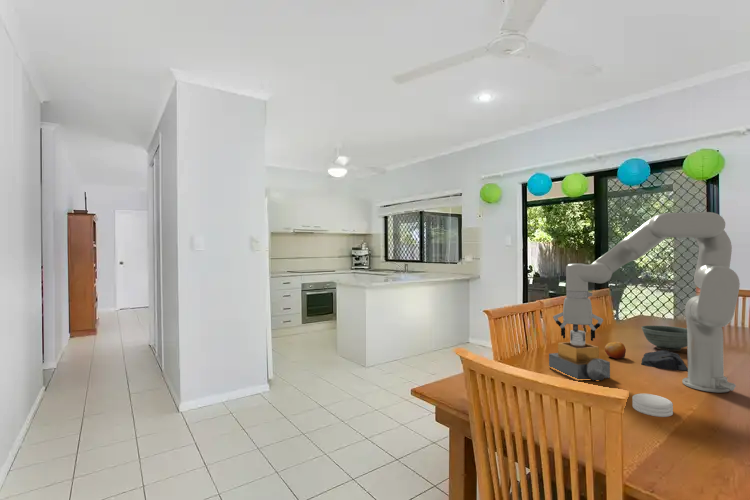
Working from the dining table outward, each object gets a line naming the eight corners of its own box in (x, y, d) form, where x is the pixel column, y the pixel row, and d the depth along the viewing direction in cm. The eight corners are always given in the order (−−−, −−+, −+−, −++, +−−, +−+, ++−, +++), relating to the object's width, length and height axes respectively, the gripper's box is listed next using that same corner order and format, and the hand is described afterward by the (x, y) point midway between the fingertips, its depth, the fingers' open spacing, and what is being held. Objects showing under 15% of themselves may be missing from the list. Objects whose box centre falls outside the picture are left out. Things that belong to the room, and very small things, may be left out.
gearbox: (614, 379, 143) (614, 349, 143) (581, 383, 140) (581, 352, 140) (578, 365, 161) (578, 339, 161) (549, 368, 158) (548, 341, 158)
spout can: (588, 358, 149) (588, 326, 149) (576, 359, 148) (576, 327, 148) (578, 354, 154) (578, 323, 154) (567, 355, 153) (567, 324, 153)
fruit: (634, 356, 168) (624, 340, 168) (618, 366, 168) (609, 350, 168) (623, 351, 176) (613, 336, 176) (608, 360, 176) (598, 345, 176)
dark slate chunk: (685, 360, 168) (685, 349, 168) (688, 373, 150) (687, 361, 150) (642, 355, 177) (642, 344, 177) (640, 367, 160) (640, 355, 160)
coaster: (634, 401, 123) (634, 390, 123) (673, 409, 117) (673, 397, 117) (630, 412, 116) (630, 400, 116) (672, 421, 109) (672, 408, 109)
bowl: (651, 353, 177) (651, 331, 177) (635, 342, 197) (635, 323, 197) (706, 356, 171) (705, 333, 171) (683, 345, 191) (683, 324, 191)
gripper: (602, 295, 151) (603, 339, 151) (553, 293, 159) (554, 335, 159) (603, 297, 144) (603, 343, 144) (552, 295, 152) (552, 338, 152)
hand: (577, 338), depth 151 cm, fingers open, 9 cm apart
